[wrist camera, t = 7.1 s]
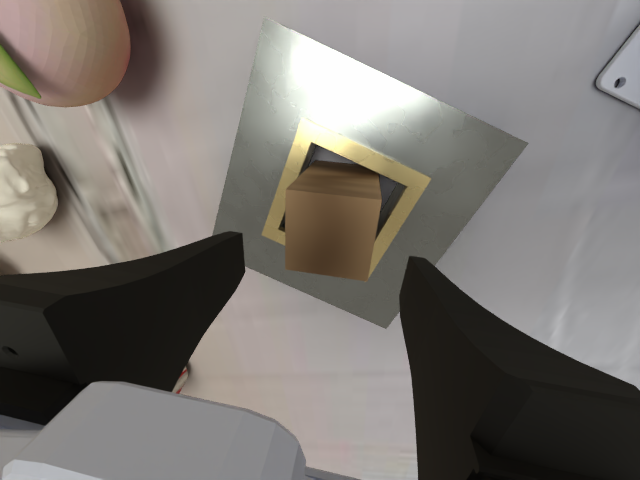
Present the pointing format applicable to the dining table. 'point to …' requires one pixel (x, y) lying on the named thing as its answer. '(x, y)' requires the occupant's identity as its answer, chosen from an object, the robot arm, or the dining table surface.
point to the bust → (24, 192)
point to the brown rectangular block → (332, 220)
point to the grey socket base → (363, 148)
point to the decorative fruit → (63, 49)
